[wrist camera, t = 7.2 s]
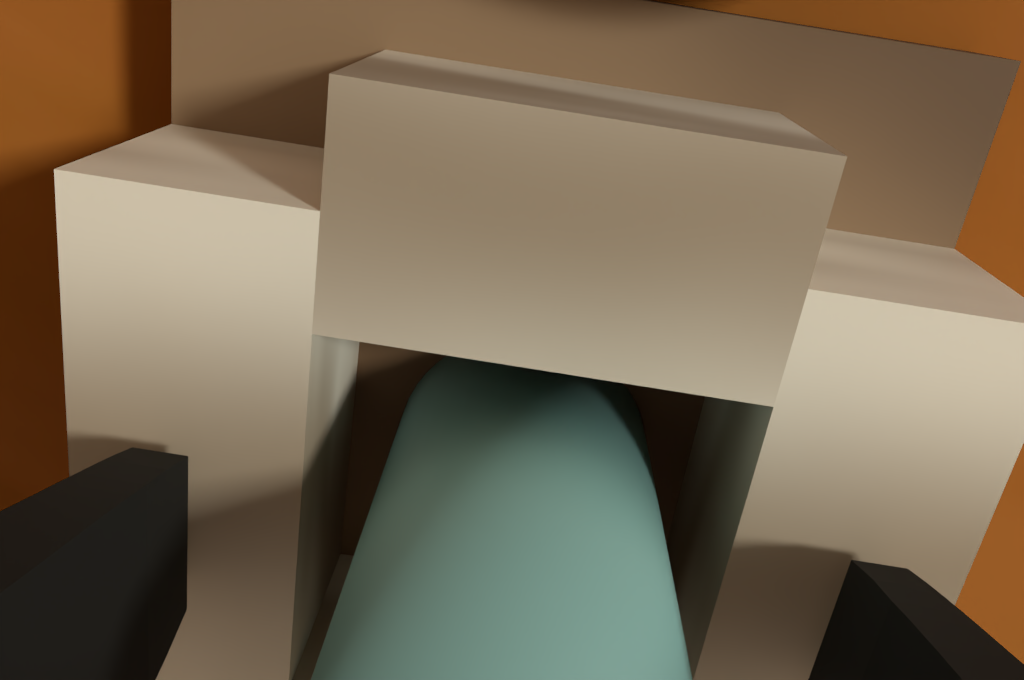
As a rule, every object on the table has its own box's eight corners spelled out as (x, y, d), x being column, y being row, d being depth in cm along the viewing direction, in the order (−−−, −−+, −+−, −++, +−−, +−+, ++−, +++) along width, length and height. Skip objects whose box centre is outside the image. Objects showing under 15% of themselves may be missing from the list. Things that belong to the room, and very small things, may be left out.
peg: (631, 558, 13) (703, 1112, 7) (398, 542, 13) (251, 1074, 7) (659, 342, 12) (781, 777, 5) (400, 325, 12) (219, 734, 6)
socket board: (745, 740, 16) (800, 968, 12) (197, 655, 16) (89, 859, 12) (976, 52, 11) (1172, 90, 8) (209, -72, 11) (40, -93, 8)
